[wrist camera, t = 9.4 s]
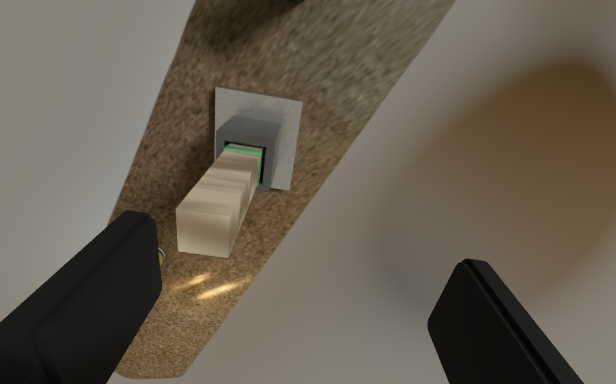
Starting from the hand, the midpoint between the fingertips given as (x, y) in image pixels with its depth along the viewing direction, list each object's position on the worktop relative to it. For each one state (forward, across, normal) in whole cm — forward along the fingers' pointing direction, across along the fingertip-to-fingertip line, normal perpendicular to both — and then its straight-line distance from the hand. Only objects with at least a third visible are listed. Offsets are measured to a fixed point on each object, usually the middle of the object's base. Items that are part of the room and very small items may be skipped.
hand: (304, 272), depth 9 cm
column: (+27, +7, +8) cm, 29 cm away
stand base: (+36, +7, +8) cm, 38 cm away
